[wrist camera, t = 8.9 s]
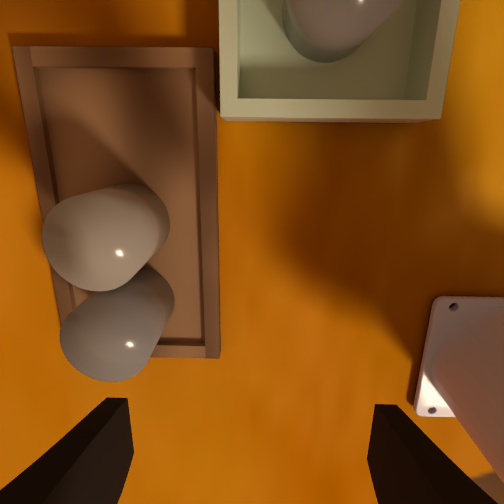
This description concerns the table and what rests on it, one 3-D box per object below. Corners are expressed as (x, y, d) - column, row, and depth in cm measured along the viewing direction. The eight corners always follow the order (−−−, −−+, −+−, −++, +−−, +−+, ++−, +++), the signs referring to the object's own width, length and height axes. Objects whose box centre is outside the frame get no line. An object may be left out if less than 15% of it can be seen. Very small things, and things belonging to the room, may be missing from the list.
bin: (445, -113, 14) (489, -175, 11) (411, 123, 17) (440, 119, 14) (224, -113, 14) (215, -174, 11) (226, 121, 17) (220, 116, 14)
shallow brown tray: (215, 52, 16) (213, 47, 15) (220, 350, 21) (219, 358, 20) (23, 50, 16) (11, 45, 15) (73, 347, 21) (66, 355, 20)
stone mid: (167, 183, 17) (137, 196, 13) (172, 258, 18) (145, 292, 14) (89, 182, 17) (33, 194, 13) (99, 256, 19) (50, 290, 14)
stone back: (172, 266, 19) (146, 303, 14) (176, 331, 20) (154, 383, 16) (100, 265, 19) (52, 301, 14) (108, 329, 20) (67, 380, 16)
